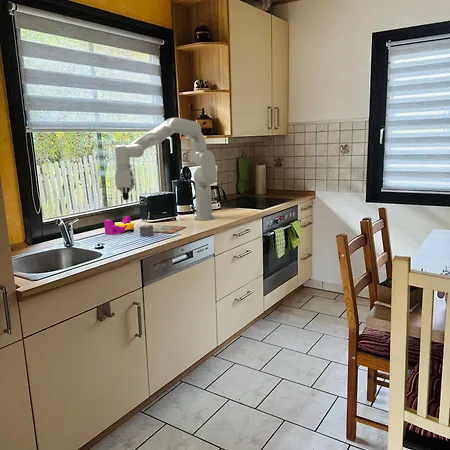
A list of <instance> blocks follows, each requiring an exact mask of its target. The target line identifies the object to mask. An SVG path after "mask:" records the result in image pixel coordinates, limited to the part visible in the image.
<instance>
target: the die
mask: <svg viewBox="0 0 450 450" xmlns="http://www.w3.org/2000/svg"><path fill="white" fill-rule="evenodd" d="M153 227H154V225H151V224H149V225H148V224H144V225H141V226H139V233H140V234H139V235H140V237H146V236H148V238H149V237H151V236H154V234H155V233H153Z"/></svg>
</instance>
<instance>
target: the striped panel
mask: <svg viewBox="0 0 450 450" xmlns="http://www.w3.org/2000/svg"><path fill="white" fill-rule="evenodd" d="M186 227H187V226H182V225H181V226H179V225H178V226H177V225H153V234H159V233H162V234H161V235H173V234H175V233H178V232H179V231H181V230H184V229H186Z"/></svg>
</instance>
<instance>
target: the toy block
mask: <svg viewBox="0 0 450 450" xmlns="http://www.w3.org/2000/svg"><path fill="white" fill-rule="evenodd" d="M121 223H124V224H126V223H132V222H131V216H127V215H126V216H123V217H122V221H121ZM103 224H104V234H105V235H109V236H110V235H112V236H113V235H117V234H122V233H126V232H125V231H124V230H125V228H126V227H127V225H126V226H124V227H119V226H118V225H115V224H114V221H113V219H112V220H111V219H105V220H103Z"/></svg>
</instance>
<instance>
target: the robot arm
mask: <svg viewBox="0 0 450 450" xmlns="http://www.w3.org/2000/svg"><path fill="white" fill-rule="evenodd" d="M175 133H176V134H181V135H183V136H185V137H187V138H188V139H189V140H190V141H189V142H190V143H191V147H192V154H193V155H192V156H193V157H192V158H193V161H194V164H196V165H197V166H200V167H199V168H197V169H196V170H195V171H194V173H193V181H194V186H195V187H194V188H195V205H196V216H194V220H197V221H209V220H214V219H215V216H214V215H213V212H214V211H213V210H212V207H213V206H212V187H211V185H213V184H214V183H215V182H216V181H217V175H218V174H217V173H218V172H217V165H216V164H217V163H216V158H215V155H214V153H213V152H212V151H210V150H208V149H207V143H206V138H205V135H204V134H203V133H202V126H201V124H200V123H199V122H197V121H195V120H190V119H185V118H180V117H170V118H167V119H165V120H164V121H162V122H161V123H159V124H158V125H157V126H155V127H154V128H152V129H150V131H147V132H146V133H145V134H143V135H142V136H140V137H138V138H137V139H136V140H134V141H132V142H131V143H129V144H116V145H115V146H114V155H115V163H116V165H115V168H116V169H115V175H114V176H115V177H114V178H115V179H114V180H115V181H114V182H115V187H116V190H119V191H120V193H122V199H123V201H128V200H130V195H129V194H130V192H131V191H132V190H134V187H135V185H136V184H135V177H134V172H133V170H132V169H131V168H132V167H133V165H132V164H131V161H130V158H134V159H135V158H136V159H137V158H141V157H142V156H143V155H144V153H145V151H146V150H147V149H149V148H151V147H153V146H156V145H157V146H158V145H159V144H161V143H162V142H163V141H164V140H166V139H167V138H169V137H171V136H172V135H173V134H175Z"/></svg>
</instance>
